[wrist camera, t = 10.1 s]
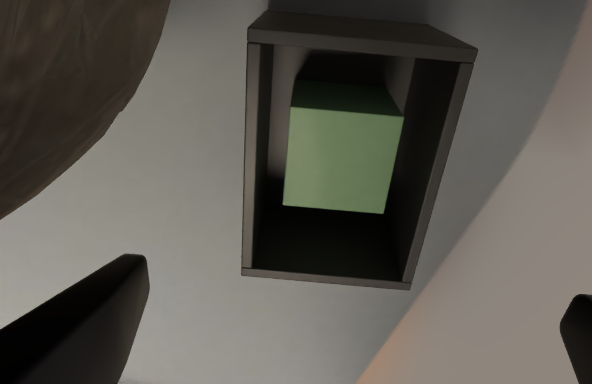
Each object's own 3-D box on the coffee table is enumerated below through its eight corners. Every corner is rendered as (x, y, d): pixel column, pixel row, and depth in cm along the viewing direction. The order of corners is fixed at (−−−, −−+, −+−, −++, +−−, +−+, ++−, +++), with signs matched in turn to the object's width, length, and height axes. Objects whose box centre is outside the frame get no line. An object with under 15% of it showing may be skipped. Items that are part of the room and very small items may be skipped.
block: (386, 87, 17) (404, 116, 14) (371, 170, 19) (383, 214, 15) (294, 78, 17) (289, 106, 14) (287, 163, 19) (282, 205, 15)
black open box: (386, 214, 20) (410, 291, 16) (258, 202, 20) (241, 276, 15) (429, 24, 16) (479, 48, 11) (267, 9, 16) (247, 27, 11)
